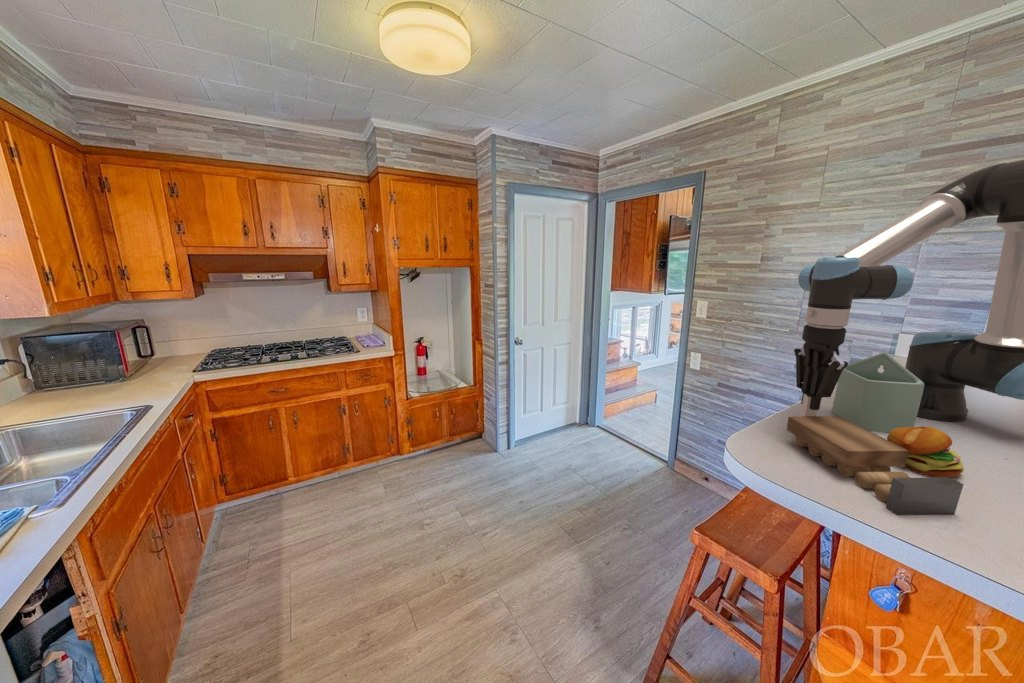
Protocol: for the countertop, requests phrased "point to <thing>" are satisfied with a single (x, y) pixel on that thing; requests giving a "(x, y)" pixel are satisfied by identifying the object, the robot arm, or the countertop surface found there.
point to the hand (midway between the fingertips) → (807, 419)
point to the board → (847, 442)
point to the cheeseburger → (927, 451)
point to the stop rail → (924, 496)
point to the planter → (878, 394)
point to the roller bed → (863, 473)
